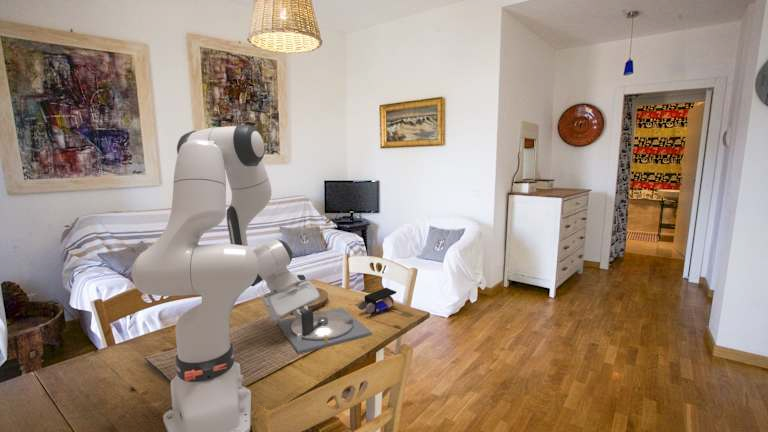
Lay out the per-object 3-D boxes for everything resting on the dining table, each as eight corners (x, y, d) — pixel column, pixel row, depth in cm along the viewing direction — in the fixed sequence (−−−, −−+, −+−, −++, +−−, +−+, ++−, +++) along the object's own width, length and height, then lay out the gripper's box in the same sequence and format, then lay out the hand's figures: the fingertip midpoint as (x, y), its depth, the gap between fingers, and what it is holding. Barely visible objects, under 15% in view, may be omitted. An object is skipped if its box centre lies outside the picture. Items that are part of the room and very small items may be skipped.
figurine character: (370, 323, 137) (398, 307, 147) (368, 304, 136) (396, 289, 146) (358, 317, 142) (386, 303, 152) (356, 299, 140) (384, 285, 151)
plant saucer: (276, 321, 137) (276, 312, 137) (262, 300, 158) (261, 293, 157) (337, 307, 149) (337, 299, 149) (316, 290, 170) (316, 283, 169)
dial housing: (371, 334, 125) (371, 326, 124) (298, 354, 112) (297, 344, 112) (341, 309, 146) (341, 302, 146) (277, 323, 134) (277, 315, 133)
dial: (315, 310, 143) (315, 288, 142) (364, 319, 134) (363, 296, 133) (278, 332, 124) (277, 308, 123) (331, 345, 115) (330, 319, 114)
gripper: (264, 290, 116) (289, 327, 112) (308, 273, 133) (331, 304, 130) (255, 301, 119) (279, 337, 115) (299, 283, 136) (321, 314, 133)
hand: (307, 320), depth 123 cm, fingers closed, pressing on dial
